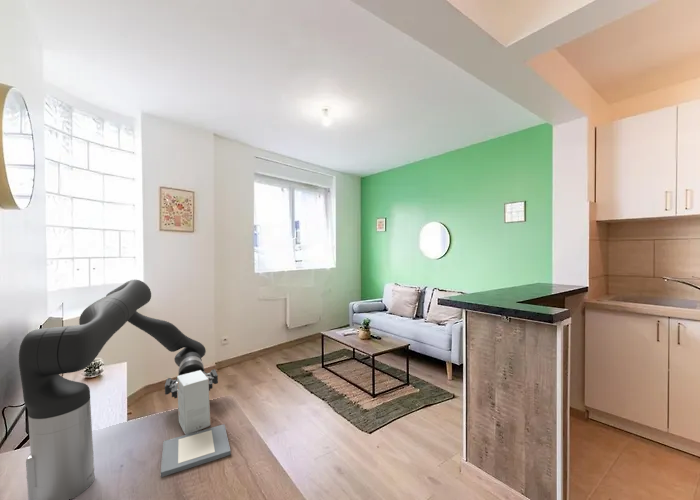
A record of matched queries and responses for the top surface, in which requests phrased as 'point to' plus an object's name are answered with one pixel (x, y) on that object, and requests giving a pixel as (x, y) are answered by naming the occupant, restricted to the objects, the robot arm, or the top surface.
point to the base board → (194, 449)
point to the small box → (193, 401)
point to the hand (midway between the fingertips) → (192, 391)
